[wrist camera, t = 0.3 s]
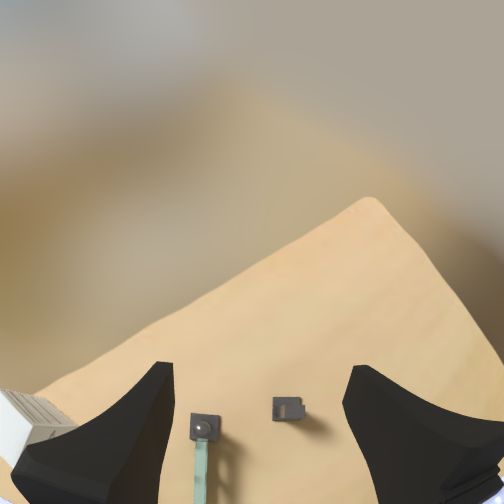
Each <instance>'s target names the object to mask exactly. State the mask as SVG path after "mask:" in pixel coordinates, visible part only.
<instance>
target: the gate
mask: <svg viewBox="0 0 504 504" xmlns="http://www.w3.org/2000/svg"><path fill="white" fill-rule="evenodd" d="M207 457H208V439H203V438H198V439H197V440H196V447H195V474H194V504H206V488H207Z"/></svg>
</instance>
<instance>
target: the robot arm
mask: <svg viewBox="0 0 504 504" xmlns="http://www.w3.org/2000/svg"><path fill="white" fill-rule="evenodd" d="M342 404H343V408H344V411H345V415H346V418H347V421H348V424H349V426H350V428H351V430H352V432H353V435H354V437H355V439H356V441H357V443H358V445H359V447H360V449H361V451H362V453H363V456H364V458H365V460H366V462H367V465H368V467H369V470H370V473H371V477H372V480H373V483H374V487H375V491H376V494H377V498H378V503H379V504H504V475H503V476H502V477H501V478H500V477H499V476H498V473H499V472H500V468H499V467H498V465H497V464H498V463H499V462H500V461H501V459H502V458H503V457H504V422H501V421H490V420H483V419H477V418H472V417H468V416H464V415H461V414H458V413H454V412H451V411H448V410H446V409H443V408H441V407H438V406H436V405H434V404H432V403H429V402H427V401H425V400H423V399H421V398H420V397H418V396H416V395H414V394H412V393H411V392H409V391H407V390H406V389H404V388H403V387H401V386H399V385H398V384H396V383H395V382H393V381H392V380H390V379H389V378H387V377H386V376H384V375H383V374H381V373H379V372H378V371H376V370H375V369H373V368H371V367H370V366H368V365H357V366H353V370H352V373H351V376H350V379H349V383H348V386H347V389H346V392H345V395H344V398H343V401H342ZM174 407H175V393H174V375H173V363H169V362H159V361H157V362H156V363H155V364H154V365H153V366H152V367H151V368H150V370H149V371H148V372H147V373H146V374H145V375H144V376H143V377H142V378H141V380H140V381H139V382H138V383H137V384H136V385H135V386H134V387H133V388H132V389H131V390H130V391H129V392H128V393H126V394H125V395H124V396H123V397H122V398H121V399H120V400H119V401H117V402H116V403H115V404H114V405H113V406H111V407H110V408H109V409H107V410H106V411H105V412H103V413H102V414H100V415H99V416H97V417H96V418H94V419H92V420H91V421H89V422H87V423H85V424H84V425H82V426H80V427H78V428H76V429H74V430H72V431H69V432H67V433H65V434H62V435H60V436H57V437H54V438H51V439H48V440H44V441H41V442H37V443H33V444H29V445H27V446H26V448H25V449H24V451H23V452H22V454H21V455H20V457H19V459H18V461H17V463H16V465H15V467H14V469H13V471H12V473H11V479H12V481H13V483H14V485H15V486H16V488H17V489H18V490H19V491H20V493H21V494H22V495H23V496H24V497H25V499H26V500H27V501H28V502H29V503H30V504H158V493H159V483H160V474H161V469H162V464H163V460H164V456H165V452H166V448H167V444H168V440H169V436H170V432H171V428H172V423H173V416H174ZM0 504H14V503H12V502H10V501H8V500H6V499H5V498H3V497H1V496H0Z"/></svg>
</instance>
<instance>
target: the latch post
mask: <svg viewBox="0 0 504 504" xmlns="http://www.w3.org/2000/svg"><path fill="white" fill-rule="evenodd" d="M300 418H305V405H300V397H273V409H272V420H300Z"/></svg>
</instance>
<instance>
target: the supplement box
mask: <svg viewBox="0 0 504 504" xmlns="http://www.w3.org/2000/svg"><path fill="white" fill-rule="evenodd" d="M78 427H80V426H79V425H77V424H76V423H75V422H73V421H72V420H71V419H70V418H68V417H67V416H66V415H65V414H63V413H62V412H61V411H60V410H59V409H57V408H56V407H55V406H54V405H53V404H52V403H50V402H49V401H48V400H47V399H46V398H41V397H37V396H33V395H28V394H24V393H19V392H15V391H11V390H7V389H3V388H0V456H1V457H2V458H3V459H4V460H5V461H6V462H7V463H8V464H9V465H10V466H11V467H12V468H13V469H14V467H15V465H16V463H17V461H18V459H19V457H20V455H21V454H22V452H23V451H24V449H25V448H26V446H27V445H29V444H33V443H37V442H41V441H44V440H48V439H51V438H54V437H57V436H60V435H62V434H65V433H67V432H69V431H72V430H74V429H76V428H78Z"/></svg>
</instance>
